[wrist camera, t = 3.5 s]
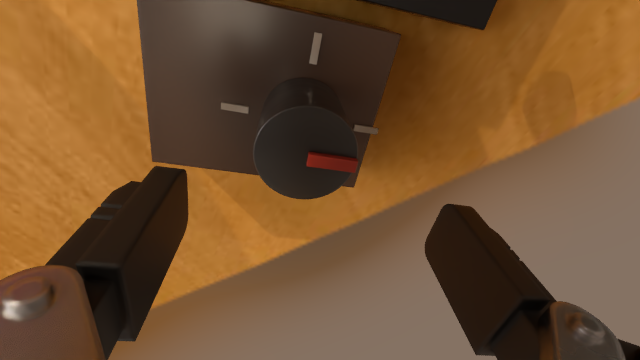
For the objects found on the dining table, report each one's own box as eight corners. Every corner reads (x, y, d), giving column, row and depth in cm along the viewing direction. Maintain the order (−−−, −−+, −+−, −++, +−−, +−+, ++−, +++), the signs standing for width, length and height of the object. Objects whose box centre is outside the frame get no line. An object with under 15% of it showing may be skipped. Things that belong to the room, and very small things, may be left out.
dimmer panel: (170, 144, 20) (151, 167, 17) (160, -24, 15) (131, -27, 12) (349, 169, 22) (357, 193, 19) (390, 29, 17) (408, 36, 14)
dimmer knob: (258, 149, 17) (247, 197, 13) (266, 69, 15) (257, 98, 11) (332, 159, 18) (345, 208, 14) (351, 85, 16) (373, 118, 12)
